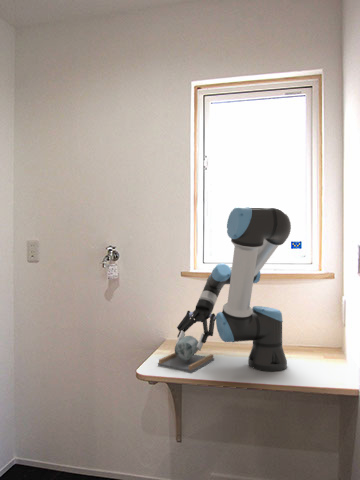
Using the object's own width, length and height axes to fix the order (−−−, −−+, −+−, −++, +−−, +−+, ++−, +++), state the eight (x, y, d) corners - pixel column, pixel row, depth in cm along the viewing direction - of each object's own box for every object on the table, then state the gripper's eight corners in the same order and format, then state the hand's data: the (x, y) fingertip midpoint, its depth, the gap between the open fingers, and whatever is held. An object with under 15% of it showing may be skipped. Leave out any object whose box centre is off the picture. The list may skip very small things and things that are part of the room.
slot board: (214, 360, 160) (214, 354, 160) (192, 372, 144) (192, 366, 144) (182, 354, 168) (182, 348, 168) (158, 365, 153) (158, 359, 153)
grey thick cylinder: (195, 355, 147) (186, 331, 151) (174, 364, 150) (166, 340, 154) (207, 355, 159) (199, 332, 163) (188, 363, 162) (180, 340, 165)
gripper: (231, 310, 167) (214, 356, 153) (188, 306, 179) (169, 348, 165) (225, 300, 162) (208, 346, 149) (182, 296, 174) (162, 338, 161)
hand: (187, 347), depth 157 cm, fingers closed on grey thick cylinder, 9 cm apart
